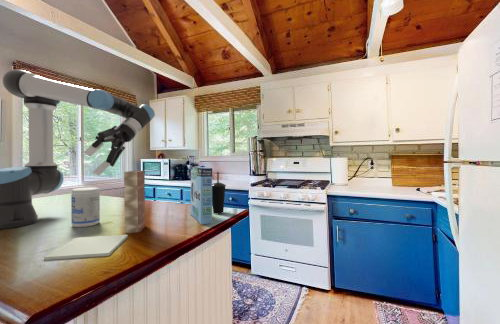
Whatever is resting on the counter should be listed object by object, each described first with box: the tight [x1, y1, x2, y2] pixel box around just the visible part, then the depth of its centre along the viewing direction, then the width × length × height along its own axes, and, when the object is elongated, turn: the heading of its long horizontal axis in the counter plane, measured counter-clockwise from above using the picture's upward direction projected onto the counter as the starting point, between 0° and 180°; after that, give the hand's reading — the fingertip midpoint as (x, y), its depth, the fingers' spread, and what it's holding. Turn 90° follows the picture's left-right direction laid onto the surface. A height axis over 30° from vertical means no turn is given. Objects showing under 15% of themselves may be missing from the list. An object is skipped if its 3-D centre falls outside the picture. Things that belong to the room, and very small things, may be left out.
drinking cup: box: [212, 171, 227, 214], centre depth 118 cm, size 8×8×20 cm
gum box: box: [190, 165, 213, 226], centre depth 106 cm, size 20×5×23 cm, turn 26°
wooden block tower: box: [123, 170, 146, 234], centre depth 91 cm, size 5×8×22 cm, turn 10°
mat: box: [43, 234, 129, 261], centre depth 74 cm, size 16×16×1 cm
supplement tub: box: [70, 187, 101, 228], centre depth 99 cm, size 10×10×15 cm
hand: (91, 164), depth 92 cm, fingers open, 13 cm apart
